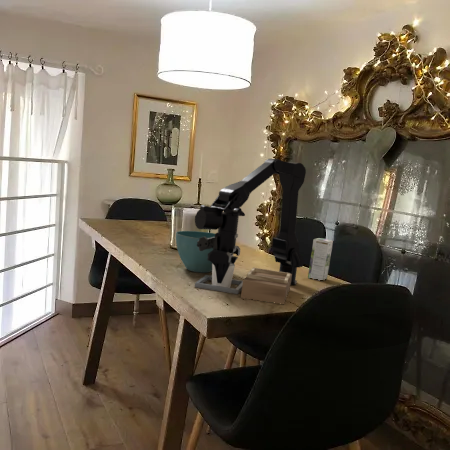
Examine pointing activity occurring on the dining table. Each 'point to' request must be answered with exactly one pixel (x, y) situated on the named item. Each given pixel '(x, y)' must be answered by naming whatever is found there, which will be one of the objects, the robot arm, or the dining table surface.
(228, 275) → the shot glass
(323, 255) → the syrup box
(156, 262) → the dining table surface
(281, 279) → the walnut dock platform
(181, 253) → the teal round bowl
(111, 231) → the dining table surface
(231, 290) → the grey square frame
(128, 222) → the dining table surface
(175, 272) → the dining table surface
